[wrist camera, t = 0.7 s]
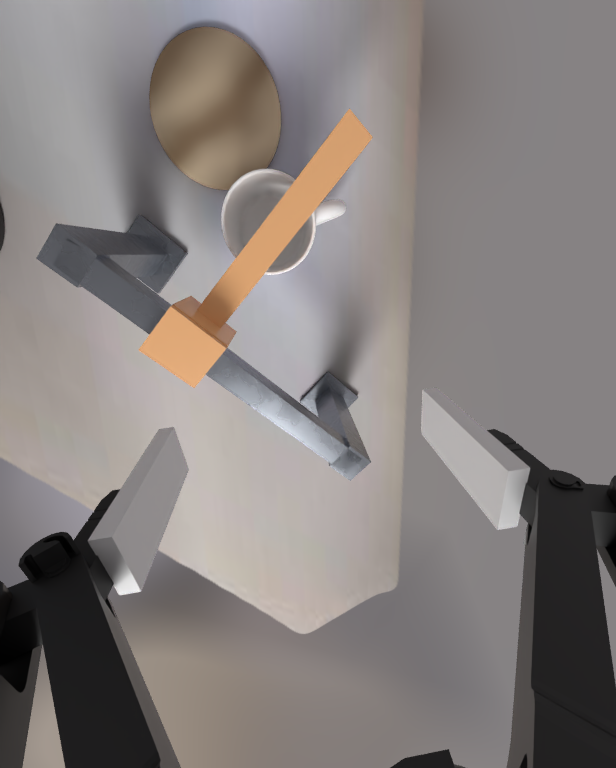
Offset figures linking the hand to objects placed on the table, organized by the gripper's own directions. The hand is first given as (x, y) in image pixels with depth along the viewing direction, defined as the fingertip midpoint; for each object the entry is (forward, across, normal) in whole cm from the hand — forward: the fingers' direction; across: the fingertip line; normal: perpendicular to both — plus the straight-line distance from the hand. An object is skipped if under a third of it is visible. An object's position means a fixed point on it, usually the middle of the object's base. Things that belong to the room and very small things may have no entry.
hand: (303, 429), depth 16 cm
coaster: (+27, -4, +22) cm, 35 cm away
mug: (+27, +2, +11) cm, 29 cm away
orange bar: (+15, -1, +9) cm, 18 cm away
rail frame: (+27, -5, -1) cm, 27 cm away
